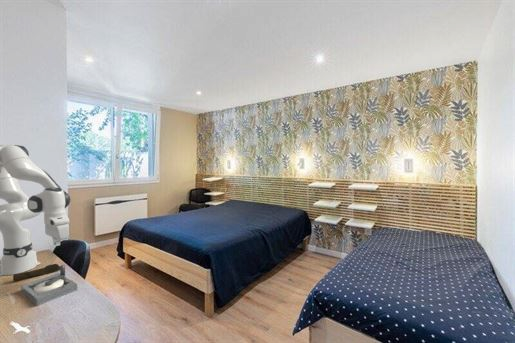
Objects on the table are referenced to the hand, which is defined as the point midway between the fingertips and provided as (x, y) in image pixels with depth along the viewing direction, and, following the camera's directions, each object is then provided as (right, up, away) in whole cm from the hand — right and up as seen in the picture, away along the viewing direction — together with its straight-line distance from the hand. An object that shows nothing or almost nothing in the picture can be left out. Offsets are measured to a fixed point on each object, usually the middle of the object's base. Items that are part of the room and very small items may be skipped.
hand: (57, 245), depth 128 cm
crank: (+4, -18, -7) cm, 20 cm away
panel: (+4, -19, -9) cm, 22 cm away
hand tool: (-16, -19, +7) cm, 26 cm away
